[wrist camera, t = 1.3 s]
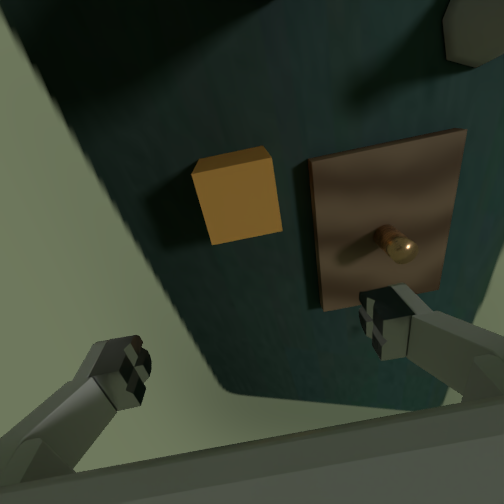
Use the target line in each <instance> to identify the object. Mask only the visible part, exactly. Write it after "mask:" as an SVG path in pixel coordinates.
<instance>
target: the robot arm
mask: <svg viewBox="0 0 504 504" xmlns="http://www.w3.org/2000/svg"><path fill="white" fill-rule="evenodd" d="M359 301H360V303H361V304H362V306H361V308H360V309H359V319H360V323H361V326H362V328H363V331H364V332H365V334H366V336H368V337H370V338H372V346H373V348H374V349H375V351H376V353H377V354H378V356H379V358H380V359H381V361H383V360H389V359H396V358H402V357H407V358H408V359H409V360H411V361H412V362H414V363H415V364H417V365H418V366H420V367H421V368H423V369H424V370H426V371H427V372H429V373H430V374H432V375H433V376H435V377H436V378H438V379H439V380H440V381H442V382H443V383H445V384H446V385H448V386H449V387H451V388H452V389H454V390H455V391H457V392H458V393H460V394H461V395H463V397H462V401H461V403H457V404H451V405H446V406H440V407H435V408H429V409H424V410H418V411H413V412H407V413H402V414H396V415H391V416H385V417H380V418H374V419H369V420H363V421H358V422H353V423H348V424H342V425H336V426H331V427H325V428H320V429H315V430H309V431H304V432H298V433H292V434H287V435H282V436H276V437H271V438H265V439H260V440H254V441H248V442H243V443H237V444H232V445H227V446H221V447H215V448H210V449H204V450H199V451H193V452H188V453H182V454H177V455H171V456H166V457H160V458H155V459H149V460H144V461H138V462H133V463H127V464H122V465H116V466H111V467H106V468H100V469H94V470H88V471H83V472H77V473H76V472H75V471H74V470H73V468H74V467H75V466H76V464H77V463H78V462H79V461H80V459H81V458H82V456H83V455H84V454H85V453H86V451H87V450H88V449H89V448H90V446H91V445H92V444H93V443H94V441H95V440H96V439H97V437H98V436H99V435H100V433H101V432H102V431H103V430H104V428H105V427H106V426H107V425H108V423H109V422H110V421H111V420H112V418H113V417H114V416H115V414H116V413H117V411H119V410H124V409H129V408H133V407H137V406H141V403H142V400H143V397H144V393H145V390H146V387H145V385H144V382H145V381H146V380H147V379H148V378H149V377H150V373H151V358H150V355H149V353H148V351H147V350H145V349H143V348H142V347H141V346H142V344H143V341H142V340H141V338H140V336H138V335H133V336H127V337H122V338H115V339H110V340H105V341H99V342H96V343H95V344H93V345H92V347H91V349H90V351H89V352H88V354H87V356H86V358H85V360H84V361H83V363H82V365H81V366H80V368H79V370H78V372H77V373H76V375H75V377H74V379H73V380H72V381H69V382H67V383H66V384H64V386H62V387H61V388H60V389H59V390H58V391H56V392H55V393H54V394H53V395H51V396H50V397H49V398H48V399H47V400H45V401H44V402H43V403H42V404H41V405H39V406H38V407H37V408H36V409H35V410H33V411H32V412H31V413H30V414H29V415H28V416H26V417H25V418H24V419H23V420H22V421H21V422H19V423H18V424H17V425H16V426H14V427H13V428H12V429H11V430H10V431H9V432H7V433H6V434H5V435H4V436H3V437H1V438H0V504H504V337H503V336H501V335H499V334H496V333H493V332H491V331H488V330H486V329H483V328H480V327H478V326H475V325H473V324H470V323H468V322H465V321H462V320H460V319H457V318H455V317H452V316H449V315H447V314H444V313H442V312H439V311H435V312H433V311H432V310H431V309H430V308H429V307H428V306H427V305H426V304H425V303H424V302H423V301H422V300H421V299H420V298H419V297H418V296H417V295H416V294H415V293H414V292H413V291H412V290H411V289H410V288H409V287H408V286H407V285H406V284H405V283H403V282H401V283H397V284H392V285H388V286H384V287H379V288H374V289H369V290H364V291H360V293H359Z"/></svg>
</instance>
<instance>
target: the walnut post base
mask: <svg viewBox="0 0 504 504" xmlns="http://www.w3.org/2000/svg"><path fill="white" fill-rule="evenodd" d="M466 134H467V129H459V128H453V129H448V130H443V131H439V132H434V133H429V134H424V135H419V136H415V137H410V138H405V139H400V140H396V141H391V142H386V143H381V144H376V145H372V146H367V147H362V148H357V149H352V150H348V151H343V152H338V153H333V154H329V155H324V156H319V157H314V158H309V159H308V168H309V180H310V191H311V203H312V214H313V226H314V238H315V249H316V261H317V273H318V284H319V296H320V305H321V307H322V309H323V311H324V312H326V311H331V310H336V309H341V308H346V307H351V306H357V305H362V304H361V303H360V301H359V293H360V291H364V290H369V289H374V288H379V287H384V286H388V285H392V284H397V283H401V282H403V283H405V284H406V285H407V286H408V287H409V288H410V289H411V290H412V291H413V292H414V293H415V294H419V293H424V292H429V291H434V290H439V285H440V279H441V274H442V268H443V263H444V257H445V251H446V246H447V240H448V235H449V229H450V224H451V218H452V212H453V207H454V201H455V196H456V190H457V185H458V179H459V173H460V168H461V162H462V157H463V151H464V146H465V140H466Z"/></svg>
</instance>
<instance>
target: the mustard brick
mask: <svg viewBox="0 0 504 504" xmlns="http://www.w3.org/2000/svg"><path fill="white" fill-rule="evenodd" d="M191 175H192V178H193V182H194V185H195V188H196V192H197V195H198V199H199V202H200V206H201V209H202V212H203V216H204V219H205V223H206V226H207V229H208V233H209V236H210V240H211V243H212V245H215V244H220V243H225V242H230V241H235V240H240V239H245V238H250V237H255V236H260V235H265V234H270V233H275V232H280V231H282V224H281V218H280V211H279V204H278V197H277V190H276V184H275V177H274V170H273V163H272V157H271V156H270V155H269V153H268V152H267V151H266V149H265V148H264V147H263V146H259V147H254V148H249V149H245V150H240V151H235V152H230V153H226V154H221V155H216V156H211V157H207V158H202V159H199V160H198V162H197V164H196V166H195V168H194V170H193V172H192V174H191Z"/></svg>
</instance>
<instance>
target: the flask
mask: <svg viewBox="0 0 504 504" xmlns="http://www.w3.org/2000/svg"><path fill="white" fill-rule="evenodd" d="M442 21H443V30H444V40H445V49H446V59H447V60H449V61H452V62H456V63H460V64H463V65H467V66H471V67H475V68H477V67H479V66H481V65H483V64H485V63H487V62H489V61H491V60H493V59H495V58H497V57H499V56H500V55H502V54H504V0H450V2H449V5H448V7H447V10H446V12H445V15H444V17H443V20H442Z"/></svg>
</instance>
